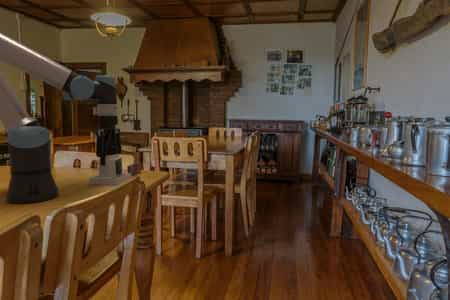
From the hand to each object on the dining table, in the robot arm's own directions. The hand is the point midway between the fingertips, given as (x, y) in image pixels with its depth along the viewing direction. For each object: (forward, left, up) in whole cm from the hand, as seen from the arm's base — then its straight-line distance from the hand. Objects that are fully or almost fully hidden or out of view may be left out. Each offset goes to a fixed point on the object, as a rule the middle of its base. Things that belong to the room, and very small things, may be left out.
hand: (110, 171), depth 132 cm
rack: (+13, +2, -4) cm, 14 cm away
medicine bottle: (0, 0, -2) cm, 2 cm away
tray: (0, 0, -4) cm, 4 cm away
